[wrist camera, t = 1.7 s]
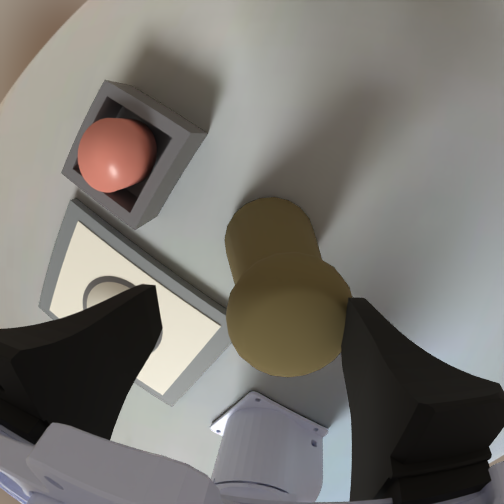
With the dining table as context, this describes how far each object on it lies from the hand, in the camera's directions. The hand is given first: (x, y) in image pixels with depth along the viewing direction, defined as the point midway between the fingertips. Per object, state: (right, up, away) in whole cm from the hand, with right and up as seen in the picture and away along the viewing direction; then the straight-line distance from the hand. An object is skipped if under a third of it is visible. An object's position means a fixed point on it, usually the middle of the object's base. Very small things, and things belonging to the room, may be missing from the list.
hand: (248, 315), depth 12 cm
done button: (-8, +9, +7) cm, 14 cm away
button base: (-8, +10, +9) cm, 15 cm away
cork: (+1, +3, +10) cm, 10 cm away
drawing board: (-11, -3, +14) cm, 18 cm away
